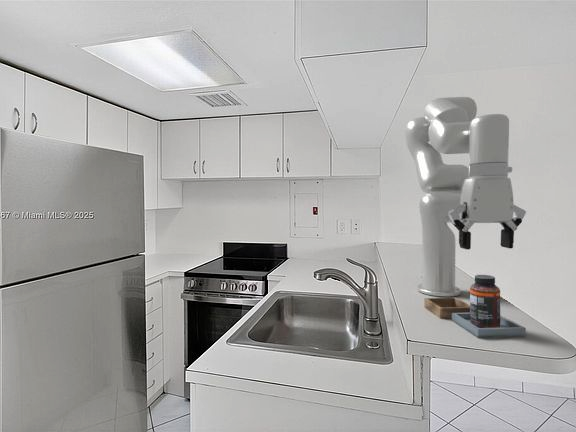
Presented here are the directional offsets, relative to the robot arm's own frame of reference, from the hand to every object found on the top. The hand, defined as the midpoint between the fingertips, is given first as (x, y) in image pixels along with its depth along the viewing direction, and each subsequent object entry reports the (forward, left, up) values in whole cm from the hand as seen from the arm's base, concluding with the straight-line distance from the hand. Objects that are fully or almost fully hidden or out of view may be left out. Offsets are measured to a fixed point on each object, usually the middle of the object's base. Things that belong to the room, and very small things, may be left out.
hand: (485, 248), depth 75 cm
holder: (-10, -3, -18) cm, 21 cm away
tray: (+1, 0, -18) cm, 18 cm away
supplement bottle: (0, 0, -18) cm, 18 cm away
